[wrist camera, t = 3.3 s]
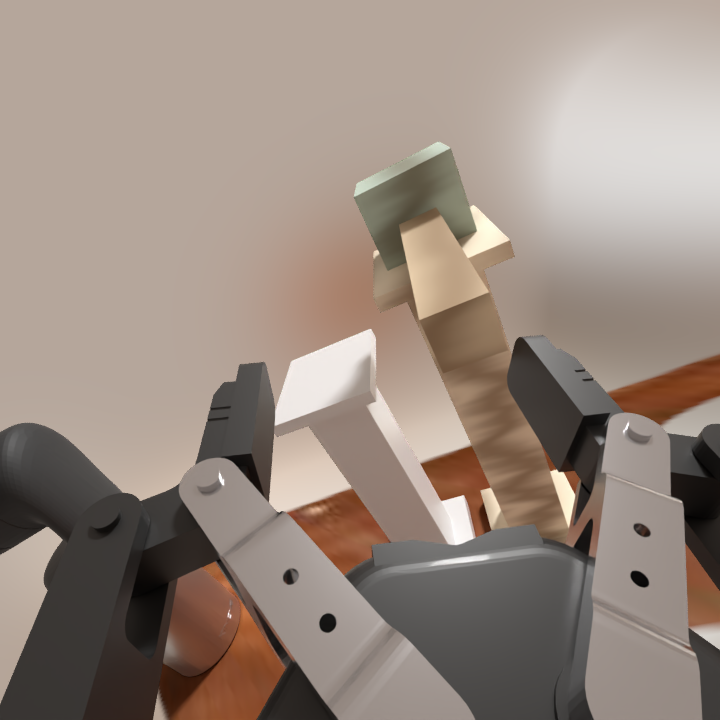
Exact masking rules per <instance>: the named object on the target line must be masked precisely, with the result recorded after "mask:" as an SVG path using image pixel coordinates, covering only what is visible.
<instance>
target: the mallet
mask: <svg viewBox="0 0 720 720" xmlns="http://www.w3.org/2000/svg"><path fill="white" fill-rule="evenodd" d="M354 199H355V201H356V203H357V205H358V208H359V210H360V212H361V214H362V216H363V218H364V221H365V223H366V225H367V227H368V229H369V231H370V234H371V236H372V238H373V240H374V242H375V245H376V247H377V249H378V251H379V253H380V256H381V258H382V260H383V262H384V264H385V267H386V269H387V271H389V270H391V269H393V268H395V267H398V266H400V265H402V264H404V263H407V265H408V270H409V275H410V279H411V284H412V289H413V293H414V298H415V303H416V307H417V312H418V317H419V321H420V323H421V325H422V327H423V330H424V332H425V334H426V336H427V339H428V341H429V343H430V345H431V348H432V350H433V352H434V354H435V357H436V359H437V361H438V363H439V366H440V368H441V370H442V372H443V374H444V373H446V372H449V371H452V370H455V369H457V368H460V367H463V366H466V365H469V364H471V363H474V362H477V361H480V360H482V359H485V358H488V357H491V356H494V355H496V354H499V353H502V352H505V351H507V350H508V348H507V345H506V342H505V339H504V336H503V333H502V330H501V327H500V324H499V321H498V318H497V315H496V312H495V308H494V305H493V302H492V299H491V296H490V293H489V291H488V290H487V288H486V286H485V285H484V283H483V282H482V280H481V278H480V277H479V275H478V274H477V272H476V270H475V269H474V267H473V266H472V264H471V262H470V261H469V259H468V257H467V256H466V254H465V253H464V251H463V249H462V248H461V246H460V245H459V243H458V241H457V240H458V239H461V238H463V237H465V236H467V235H470V234H472V233H474V232H476V231H477V228H476V225H475V222H474V219H473V216H472V213H471V210H470V207H469V203H468V201H467V197H466V194H465V191H464V188H463V185H462V182H461V179H460V175H459V172H458V169H457V166H456V163H455V160H454V157H453V154H452V151H451V148H450V147H447V146H446V145H444V144H442V143H440V142H437V143H435V144H433V145H431V146H429V147H427V148H425V149H423V150H422V151H419V152H417V153H415V154H414V155H411V156H409V157H408V158H406V159H404V160H402V161H400V162H398V163H396V164H394V165H392V166H390V167H389V168H386V169H384V170H382V171H380V172H378V173H377V174H375V175H373V176H371V177H369V178H367V179H365V180H363V181H361V182H359V183H357V185H356V190H355V194H354Z"/></svg>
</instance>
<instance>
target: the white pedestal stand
mask: <svg viewBox="0 0 720 720" xmlns="http://www.w3.org/2000/svg"><path fill="white" fill-rule="evenodd" d="M307 426H309V428H310V429H311V430H312V432H313V433H314V435H315V436H316V437H317V439H318V440H319V442H320V443H321V445H322V446H323V447H324V449H325V450H326V452H327V453H328V454H329V456H330V457H331V458H332V460H333V461H334V463H335V464H336V466H337V467H338V468H339V470H340V471H341V473H342V474H343V475H344V477H345V478H346V479H347V481H348V482H349V484H350V485H351V487H352V488H353V489H354V491H355V492H356V494H357V495H358V496H359V498H360V499H361V501H362V502H363V503H364V505H365V506H366V508H367V509H368V510H369V512H370V513H371V515H372V516H373V517H374V519H375V520H376V522H377V523H378V524H379V526H380V527H381V529H382V530H383V531H384V533H385V534H386V536H387V537H388V538H389V540H390V541H391V543H392V542H399V541H407V540H418V541H426V542H434V543H442V544H450V545H459V544H462V543H465V542H467V541H469V540H471V539H474V538H476V537H475V532H474V528H473V524H472V520H471V515H470V511H469V507H468V503H467V501H466V499H465V497H464V495H463V496H460V497H456V498H452V499H449V500H445V501H441V500H440V499H439V497H438V495H437V493H436V491H435V490H434V488H433V486H432V484H431V483H430V481H429V479H428V477H427V475H426V474H425V472H424V470H423V468H422V466H421V465H420V463H419V461H418V459H417V458H416V456H415V454H414V452H413V450H412V449H411V447H410V445H409V443H408V441H407V440H406V438H405V436H404V434H403V432H402V431H401V429H400V427H399V425H398V424H397V422H396V420H395V418H394V416H393V415H392V413H391V411H390V409H389V407H388V406H387V404H386V402H385V400H384V399H383V397H382V395H381V393H380V391H379V390H378V388H377V386H376V338H375V336H374V334H373V332H372V330H371V329H369V330H366V331H364V332H361V333H359V334H357V335H354V336H352V337H349V338H347V339H344V340H342V341H340V342H337V343H334V344H332V345H330V346H327V347H325V348H322V349H320V350H317V351H315V352H312V353H310V354H308V355H305V356H303V357H300V358H298V359H295V360H293V361H291V364H290V367H289V370H288V373H287V377H286V380H285V383H284V386H283V389H282V392H281V395H280V398H279V401H278V405H277V407H276V410H275V427H274V434H275V435H276V436H277V437H279V436H281V435H284V434H287V433H290V432H293V431H295V430H298V429H301V428H304V427H307Z"/></svg>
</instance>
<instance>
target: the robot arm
mask: <svg viewBox="0 0 720 720" xmlns="http://www.w3.org/2000/svg"><path fill="white" fill-rule="evenodd" d="M507 385H508V389H509V391H510V393H511V395H512V397H513V398H514V400H515V402H516V403H517V405H518V407H519V408H520V410H521V411H522V413H523V415H524V416H525V418H526V420H527V421H528V423H529V425H530V426H531V428H532V429H533V431H534V433H535V434H536V436H537V438H538V439H539V441H540V443H541V444H542V446H543V447H544V449H545V451H546V452H547V454H548V456H549V457H550V459H551V461H552V462H553V464H554V465H555V467H556V469H557V470H558V472H568V471H575V472H576V473H577V475H578V477H579V478H580V480H579V482H578V485H577V490H576V495H575V500H574V505H573V510H572V515H571V520H570V525H569V530H568V535H567V538H566V541H565V544H564V543H561V542H559V541H556V540H552V539H548V538H543V537H541V536H540V534H539V532H538V530H537V528H536V526H535V524H532V525H524V526H516V527H508V528H501V529H495V530H492V531H490V532H488V533H485V534H483V535H481V536H478V537H476V538H474V539H471V540H469V541H467V542H465V543H462V544H459V545H450V544H442V543H434V542H426V541H418V540H407V541H399V542H392V543H384V544H376V545H372V558H370V559H368V560H365V561H363V562H362V563H360V564H358V565H357V566H355V567H354V568H352V569H351V570H350V571H349V572H347V573H346V574H345V575H343V574H342V573H341V572H340V571H339V570H338V569H337V568H336V566H335V565H334V564H333V563H332V562H331V561H330V560H329V559H328V558H327V557H326V555H325V554H324V553H323V552H322V551H321V550H320V549H319V548H318V547H317V545H316V544H315V543H314V542H313V541H312V540H311V539H310V538H309V537H308V535H307V534H306V533H305V532H304V531H303V530H302V529H301V528H300V527H299V526H298V524H297V523H296V522H295V521H294V520H293V519H292V518H291V517H290V516H289V515H288V514H287V513H286V512H284V511H281V512H280V513H279V512H277V511H276V510H275V509H274V508H273V507H272V506H271V505H270V504H269V493H270V479H271V466H272V453H273V439H274V427H275V405H274V398H273V393H272V389H271V385H270V380H269V376H268V372H267V367H266V364H265V363H264V362H261V363H249V364H240V365H239V369H238V374H237V379H236V381H235V382H224V383H223V384H222V385H221V386H220V388H219V389H218V390H217V391H216V393H215V394H214V396H213V399H212V403H211V407H210V411H209V415H208V422H206V426H205V430H204V434H203V438H202V442H201V446H200V450H199V453H198V457H197V461H196V464H195V465H194V466H193V467H192V468H190V469H189V470H188V471H187V472H186V474H185V475H184V476H183V478H182V480H181V482H180V484H178V485H177V486H176V487H174V488H172V489H170V490H168V491H166V492H163V493H161V494H158V495H155V496H153V497H150V498H147V499H145V500H142V501H139V499H138V498H137V497H136V496H134V495H132V494H128V493H122V492H121V491H120V489H118V488H117V487H116V485H115V484H113V483H112V482H111V481H110V480H109V479H108V478H107V477H106V476H105V475H104V474H103V473H102V472H101V471H100V470H99V469H98V468H97V467H96V466H95V465H94V464H93V463H92V462H91V461H90V460H89V459H88V458H87V457H86V456H85V455H84V454H83V453H82V452H81V451H80V450H79V449H78V448H76V447H75V446H74V445H73V444H72V443H71V442H70V441H69V440H67V439H66V438H65V437H64V436H62V435H61V434H59V433H57V432H56V431H54V430H52V429H50V428H48V427H45V426H42V425H39V424H35V423H21V424H17V425H14V426H11V427H9V428H7V429H5V430H3V431H1V432H0V554H2V553H4V552H6V551H8V550H9V549H11V548H13V547H14V546H16V545H18V544H19V543H21V542H22V541H24V540H26V539H28V538H29V537H31V536H32V535H34V534H36V533H37V532H39V531H41V530H42V529H44V528H45V527H47V526H48V527H49V528H50V529H52V530H53V531H54V532H55V533H56V534H57V535H58V536H60V537H61V538H62V539H63V541H62V542H61V543H60V545H59V546H58V547H57V549H56V550H55V552H54V554H53V555H52V557H51V559H50V561H49V563H48V565H47V568H46V570H45V573H44V585H45V587H46V588H47V590H48V591H47V594H46V596H45V598H44V601H43V603H42V605H41V608H40V610H39V613H38V615H37V618H36V620H35V622H34V625H33V627H32V630H31V632H30V634H29V637H28V639H27V641H26V644H25V646H24V649H23V651H22V653H21V656H20V658H19V661H18V663H17V665H16V668H15V670H14V673H13V675H12V677H11V680H10V682H9V685H8V687H7V689H6V692H5V694H4V697H3V699H2V701H1V704H0V720H153V716H154V710H155V704H156V699H157V693H158V688H159V682H160V676H161V671H162V665H163V663H164V664H165V665H167V666H168V667H170V668H172V669H174V670H175V671H177V672H179V673H180V674H182V675H183V676H188V677H191V676H197V675H199V674H201V673H203V672H205V671H206V670H208V669H209V668H211V667H212V666H213V665H214V664H215V663H216V662H217V661H218V660H219V659H220V658H221V657H222V655H223V654H224V653H225V652H226V650H227V648H228V647H229V645H230V644H231V642H232V640H233V638H234V636H235V634H236V631H237V628H238V625H239V620H240V605H239V601H238V599H237V598H236V597H235V596H234V595H233V594H232V593H231V592H230V591H229V590H227V589H226V588H225V587H224V586H223V585H222V584H220V583H219V582H218V581H217V580H216V579H215V578H214V577H213V576H211V575H210V574H209V573H208V572H207V571H205V570H204V569H203V568H202V567H204V566H206V565H208V564H210V563H212V562H216V564H217V565H218V567H219V568H220V570H221V571H222V573H223V574H224V576H225V577H226V579H227V580H228V582H229V583H230V585H231V586H232V588H233V589H234V591H235V592H236V594H237V595H238V597H239V598H240V600H241V601H242V603H243V604H244V606H245V607H246V609H247V610H248V612H249V613H250V615H251V617H252V618H253V620H254V622H255V623H256V625H257V627H258V628H259V630H260V632H261V633H262V635H263V636H264V638H265V640H266V641H267V643H268V644H269V646H270V647H271V649H272V650H273V652H274V653H275V655H276V656H277V658H278V659H279V661H280V662H281V664H282V665H283V667H284V668H285V671H284V673H283V675H282V676H281V678H280V680H279V682H278V683H277V685H276V687H275V688H274V690H273V692H272V694H271V695H270V697H269V699H268V701H267V702H266V704H265V706H264V708H263V709H262V711H261V713H260V715H259V716H258V718H257V720H720V650H719V649H718V648H716V647H715V646H713V645H712V644H711V643H709V642H708V641H706V640H705V639H704V638H702V637H701V636H699V635H698V634H697V633H695V632H694V631H692V630H691V629H690V628H688V607H687V581H686V555H685V543H686V544H687V546H688V547H689V549H690V550H691V551H692V553H693V554H694V556H695V557H696V558H697V560H698V561H699V563H700V564H701V565H702V567H703V568H704V570H705V571H706V572H707V574H708V575H709V577H710V578H711V579H712V581H713V582H714V583H715V585H716V586H717V588H718V589H719V590H720V424H711V425H708V426H706V427H705V428H704V429H703V430H702V432H701V433H700V434H699V436H698V437H690V436H683V435H676V434H669V433H666V432H665V430H664V429H663V428H662V427H661V426H660V425H658V424H657V423H655V422H654V421H652V420H650V419H648V418H646V417H644V416H641V415H637V414H633V413H624V412H623V411H622V409H621V408H620V407H619V406H618V405H617V404H616V403H615V402H614V401H613V399H612V398H611V397H610V396H609V395H608V394H607V393H606V392H605V391H604V389H603V388H602V387H601V386H600V385H599V384H598V383H597V382H596V381H594V380H593V377H592V376H591V375H590V374H589V373H588V372H587V371H585V368H584V367H583V366H582V365H581V364H580V363H579V361H578V360H577V359H576V358H575V357H573V356H571V355H570V354H568V353H566V352H565V351H563V350H561V349H556V348H555V347H554V346H553V345H552V344H551V343H550V341H549V340H548V339H547V338H546V337H545V336H543V335H539V336H527V337H519V338H518V339H517V340H516V342H515V345H514V349H513V353H512V357H511V361H510V365H509V369H508V373H507Z"/></svg>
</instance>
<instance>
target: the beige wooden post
mask: <svg viewBox="0 0 720 720" xmlns="http://www.w3.org/2000/svg"><path fill="white" fill-rule="evenodd" d="M470 210H471V213H472V216H473V219H474V222H475V225H476V228H477V231H476V232H474V233H472V234H470V235H467V236H465V237H463V238H461V239H458V240H457V241H458V243H459V245H460V246H461V248H462V249H463V251H464V253H465V254H466V256H467V257H468V259H469V261H470V262H471V264H472V266H473V267H474V269H475V270H476V272H477V274H478V275H479V277H480V278H481V280H482V282H483V283H484V285H485V286H486V288H487V290H488V291H489V293H490V296H491V299H492V302H493V305H494V308H495V312H496V315H497V318H498V321H499V324H500V327H501V330H502V333H503V336H504V339H505V342H506V345H507V348H508V350H507V351H505V352H502V353H499V354H496V355H494V356H491V357H488V358H485V359H482V360H480V361H477V362H474V363H471V364H469V365H466V366H463V367H460V368H457V369H455V370H452V371H449V372H446V373H444V374H443V372H442V370H441V368H440V366H439V363H438V361H437V359H436V357H435V354H434V352H433V350H432V348H431V345H430V343H429V341H428V339H427V336H426V334H425V332H424V330H423V327H422V325H421V323H420V321H419V317H418V312H417V307H416V303H415V298H414V293H413V289H412V284H411V279H410V275H409V270H408V265H407V263H404V264H402V265H400V266H398V267H395V268H393V269H391V270H389V271H387V269H386V267H385V264H384V262H383V260H382V258H381V256H380V253H379V251H378V250H376V251H374V301H375V302H376V305H377V307H378V309H379V311H380V313H381V312H384V311H386V310H388V309H391V308H393V307H395V306H398V305H400V304H403V303H405V302H408V305H409V307H410V309H411V311H412V313H413V316H414V318H415V320H416V322H417V324H418V327H419V329H420V331H421V333H422V336H423V338H424V340H425V342H426V344H427V347H428V349H429V351H430V353H431V356H432V358H433V360H434V362H435V364H436V366H437V369H438V371H439V373H440V375H441V378H442V380H443V382H444V384H445V387H446V389H447V391H448V393H449V395H450V397H451V400H452V402H453V404H454V407H455V409H456V411H457V413H458V415H459V418H460V420H461V422H462V424H463V426H464V429H465V431H466V433H467V435H468V438H469V440H470V442H471V444H472V447H473V449H474V451H475V453H476V456H477V458H478V460H479V462H480V464H481V467H482V469H483V471H484V473H485V476H486V478H487V480H488V482H489V484H490V487H491V488H489V489H485V490H481V494H482V498H483V501H484V505H485V509H486V512H487V516H488V519H489V523H490V527H491V530H495V529H501V528H508V527H516V526H524V525H532V524H535V526H536V528H537V530H538V532H539V534H540V536H541V537H543V538H548V539H552V540H556V541H559V542H561V543H564V544H565V541H566V538H567V535H568V530H569V525H570V520H571V515H572V510H573V505H574V500H575V494H574V492H573V490H572V488H571V486H570V484H569V482H568V480H567V479H566V477H565V475H564V473H563V472H558V470H554V471H550V470H549V467H548V464H547V461H546V458H545V455H544V451H543V448H542V445H541V443H540V441H539V439H538V438H537V436H536V434H535V433H534V431H533V429H532V428H531V426H530V425H529V423H528V421H527V420H526V418H525V416H524V415H523V413H522V411H521V410H520V408H519V407H518V405H517V403H516V402H515V400H514V398H513V397H512V395H511V393H510V391H509V389H508V385H507V373H508V369H509V365H510V361H511V357H512V354H511V351H510V348H509V345H508V342H507V339H506V336H505V333H504V330H503V327H502V324H501V321H500V317H499V315H498V311H497V308H496V305H495V302H494V299H493V297H492V293H491V290H490V287H489V284H488V281H487V278H486V275H485V272H484V269H486V268H489V267H491V266H494V265H496V264H498V263H501V262H503V261H506V260H508V259H510V258H513V257H514V253H513V249H512V246H511V242H510V240H509V239H508V238H507V237H506V236H505V235H504V234H503V233H502V232H501V231H500V230H499V229H498V228H497V227H496V226H495V225H494V224H493V223H492V222H491V221H490V220H489V219H488V218H487V217H486V216H485V215H484V214H483V213H482V212H481V211H480V210H479V209H478V208H476V207H475V206H471V207H470Z"/></svg>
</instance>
